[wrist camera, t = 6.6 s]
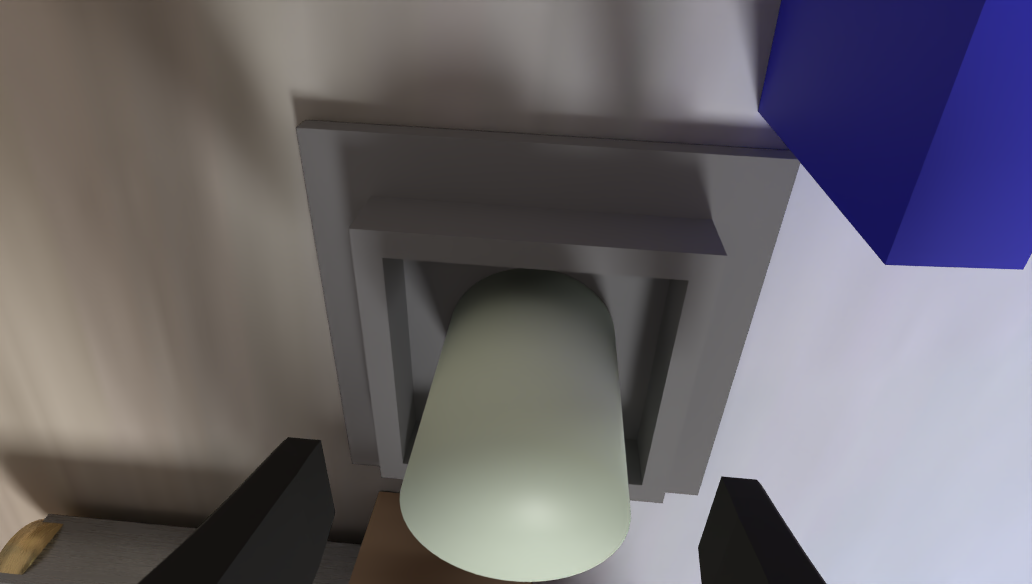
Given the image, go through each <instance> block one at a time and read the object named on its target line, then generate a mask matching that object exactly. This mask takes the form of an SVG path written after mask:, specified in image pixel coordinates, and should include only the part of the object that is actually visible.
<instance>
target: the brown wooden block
mask: <svg viewBox="0 0 1032 584" xmlns="http://www.w3.org/2000/svg"><path fill="white" fill-rule="evenodd" d="M349 584H532V582H517V581H507V580H500V579H494V578H489V577H485V576H481V575H477V574H474V573H471V572H468V571H465V570H463V569H461V568H458V567H456V566H454V565H452V564H450V563H448V562H446V561H444V560H442V559H441V558H439V557H438V556H436V555H435V554H433V553H432V552H430V551H429V550H428V549H427V548H426V547H424V546H423V545H422V544H421V543H420V542H419V541H418V540H417V539H416V538H415V537H414V535H413V534H412V532H411V531H410V530H409V528H408V526H407V524H406V522H405V521H404V518H403V515H402V512H401V508H400V493H392V492H381V491H379V493H378V496H377V499H376V502H375V505H374V508H373V511H372V514H371V517H370V520H369V523H368V526H367V529H366V532H365V535H364V538H363V542H362V545H361V548H360V551H359V554H358V557H357V560H356V563H355V566H354V569H353V572H352V575H351V578H350V581H349Z"/></svg>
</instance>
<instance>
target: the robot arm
mask: <svg viewBox="0 0 1032 584" xmlns="http://www.w3.org/2000/svg"><path fill="white" fill-rule="evenodd" d="M334 515H335V509H334V504H333V499H332V494H331V489H330V484H329V479H328V474H327V469H326V464H325V459H324V454H323V449H322V444H321V440H311V439H300V438H289V437H288V438H287V439H286V440H284V441H283V442H282V443H281V444H280V445H279V446H278V447H277V448H276V449H275V450H274V451H273V452H272V453H271V455H270V456H269V457H268V458H267V459H266V460H265V461H264V462H263V463H262V464H261V465H260V466H259V467H258V468H257V469H256V470H255V471H254V472H253V473H252V474H251V475H250V476H249V477H248V478H247V479H246V480H245V481H244V483H243V484H242V485H241V486H240V487H239V488H238V489H237V490H236V491H235V492H234V493H233V494H232V495H231V496H230V497H229V498H228V499H227V500H226V501H225V502H224V503H223V504H222V505H221V506H220V507H219V508H218V509H217V510H216V511H215V512H214V513H213V514H211V515H210V516H209V517H208V518H207V519H206V520H205V521H204V522H203V523H202V524H201V525H200V526H199V527H198V528H197V529H196V530H195V531H194V532H193V533H192V534H191V535H190V536H189V537H188V538H187V539H186V540H185V541H184V542H183V543H181V544H180V545H179V546H178V547H177V548H176V549H175V550H174V551H173V552H172V553H171V554H169V555H168V556H167V557H166V558H165V559H164V560H163V561H162V562H161V563H159V564H158V565H157V566H156V567H155V568H154V569H153V570H152V571H151V572H149V573H148V574H147V575H146V576H145V577H144V578H143V579H142V580H141V581H139V582H138V583H137V584H313V581H314V579H315V576H316V574H317V571H318V569H319V566H320V563H321V559H322V556H323V553H324V549H325V546H326V543H327V539H328V536H329V532H330V529H331V525H332V522H333V518H334ZM698 551H699V561H700V572H701V581H702V584H826V582H825V581H824V580H823V578H822V577H821V575H820V574H819V572H818V571H817V570H816V568H815V567H814V565H813V564H812V562H811V561H810V559H809V558H808V556H807V555H806V553H805V552H804V550H803V549H802V547H801V546H800V544H799V543H798V541H797V540H796V538H795V537H794V535H793V534H792V532H791V531H790V529H789V528H788V526H787V525H786V523H785V521H784V520H783V518H782V517H781V515H780V514H779V512H778V511H777V509H776V507H775V506H774V504H773V503H772V501H771V499H770V498H769V496H768V495H767V493H766V492H765V490H764V488H763V487H762V485H761V484H760V483H759V482H758V481H757V480H754V479H743V478H732V477H721V480H720V483H719V486H718V489H717V492H716V495H715V498H714V501H713V504H712V507H711V510H710V513H709V516H708V519H707V522H706V525H705V528H704V531H703V534H702V537H701V540H700V543H699V546H698Z"/></svg>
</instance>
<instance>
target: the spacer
mask: <svg viewBox="0 0 1032 584" xmlns="http://www.w3.org/2000/svg"><path fill="white" fill-rule="evenodd" d="M400 508H401V512H402V515H403V518H404V521H405V522H406V524H407V526H408V528H409V530H410V531H411V532H412V534H413V535H414V537H415V538H416V539H417V540H418V541H419V542H420V543H421V544H422V545H423V546H424V547H426V548H427V549H428V550H429V551H430V552H432V553H433V554H435V555H436V556H438V557H439V558H441V559H442V560H444V561H446V562H448V563H450V564H452V565H454V566H456V567H458V568H461V569H463V570H465V571H468V572H471V573H474V574H477V575H481V576H485V577H489V578H494V579H500V580H507V581H517V582H537V581H549V580H556V579H561V578H565V577H570V576H573V575H576V574H579V573H582V572H584V571H587V570H589V569H591V568H593V567H595V566H597V565H599V564H600V563H602V562H603V561H605V560H606V559H607V558H609V557H610V556H611V555H612V554H613V553H614V552H615V551H616V550H617V549H618V548H619V547H620V545H621V544H622V542H623V541H624V539H625V537H626V535H627V533H628V530H629V525H630V516H631V511H630V499H629V488H628V476H627V465H626V453H625V442H624V430H623V419H622V407H621V395H620V384H619V372H618V361H617V349H616V338H615V329H614V324H613V321H612V318H611V315H610V313H609V311H608V309H607V307H606V306H605V304H604V303H603V302H602V300H601V299H600V298H599V297H598V296H597V295H596V294H595V293H594V292H593V291H592V290H591V289H589V288H588V287H587V286H586V285H584V284H583V283H581V282H579V281H578V280H576V279H574V278H572V277H570V276H567V275H565V274H562V273H559V272H555V271H552V270H539V269H526V268H517V269H511V270H505V271H502V272H498V273H495V274H493V275H491V276H488V277H486V278H484V279H482V280H481V281H479V282H477V283H476V284H475V285H473V286H472V287H471V288H470V289H469V290H468V291H467V292H466V293H465V294H464V295H463V296H462V297H461V299H460V300H459V302H458V303H457V305H456V307H455V309H454V311H453V314H452V318H451V321H450V324H449V328H448V331H447V334H446V338H445V341H444V345H443V348H442V351H441V355H440V358H439V361H438V365H437V368H436V372H435V375H434V378H433V382H432V385H431V388H430V392H429V395H428V399H427V402H426V405H425V409H424V412H423V415H422V419H421V422H420V426H419V429H418V432H417V436H416V439H415V442H414V446H413V449H412V453H411V456H410V459H409V463H408V466H407V469H406V473H405V476H404V480H403V483H402V486H401V490H400Z"/></svg>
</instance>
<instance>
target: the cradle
mask: <svg viewBox="0 0 1032 584" xmlns="http://www.w3.org/2000/svg"><path fill="white" fill-rule="evenodd" d="M296 131H297V137H298V143H299V149H300V155H301V161H302V167H303V173H304V179H305V185H306V191H307V197H308V203H309V209H310V215H311V221H312V227H313V233H314V239H315V245H316V251H317V257H318V263H319V269H320V275H321V281H322V287H323V292H324V298H325V304H326V310H327V316H328V322H329V328H330V334H331V340H332V346H333V352H334V358H335V364H336V370H337V376H338V382H339V388H340V394H341V400H342V406H343V412H344V418H345V424H346V430H347V436H348V442H349V448H350V454H351V460H352V464H361V465H372V466H380V471H381V477H384V478H395V479H404V476H405V473H406V469H407V466H408V463H409V459H410V456H411V453H412V449H413V446H414V442H415V439H416V436H417V432H418V429H419V426H420V422H421V419H422V415H423V412H424V409H425V405H426V402H427V399H428V395H429V392H430V388H431V385H432V382H433V378H434V375H435V372H436V368H437V365H438V361H439V358H440V355H441V351H442V348H443V345H444V341H445V338H446V334H447V331H448V328H449V324H450V321H451V318H452V314H453V311H454V309H455V307H456V305H457V303H458V302H459V300H460V299H461V297H462V296H463V295H464V294H465V293H466V292H467V291H468V290H469V289H470V288H471V287H472V286H473V285H475V284H476V283H477V282H479V281H481V280H482V279H484V278H486V277H488V276H491V275H493V274H495V273H498V272H502V271H505V270H511V269H517V268H526V269H539V270H552V271H555V272H559V273H562V274H565V275H567V276H570V277H572V278H574V279H576V280H578V281H579V282H581V283H583V284H584V285H586V286H587V287H588V288H589V289H591V290H592V291H593V292H594V293H595V294H596V295H597V296H598V297H599V298H600V299H601V300H602V302H603V303H604V304H605V306H606V307H607V309H608V311H609V313H610V315H611V318H612V321H613V324H614V329H615V338H616V349H617V361H618V372H619V384H620V395H621V407H622V419H623V430H624V442H625V453H626V465H627V476H628V488H629V499H630V500H632V501H643V502H654V503H663V499H664V496H665V492H667V493H678V494H689V495H698V493H699V489H700V486H701V483H702V480H703V476H704V473H705V470H706V467H707V463H708V460H709V457H710V454H711V450H712V447H713V444H714V441H715V437H716V434H717V431H718V428H719V424H720V421H721V418H722V415H723V412H724V408H725V405H726V402H727V399H728V395H729V392H730V389H731V386H732V382H733V379H734V376H735V373H736V369H737V366H738V363H739V360H740V356H741V353H742V350H743V347H744V344H745V340H746V337H747V334H748V331H749V327H750V324H751V321H752V318H753V314H754V311H755V308H756V305H757V301H758V298H759V295H760V292H761V288H762V285H763V282H764V279H765V276H766V272H767V269H768V266H769V263H770V259H771V256H772V253H773V250H774V246H775V243H776V240H777V237H778V233H779V230H780V227H781V224H782V220H783V217H784V214H785V211H786V207H787V204H788V201H789V198H790V195H791V191H792V188H793V185H794V182H795V178H796V175H797V172H798V169H799V165H800V161H799V160H798V159H797V158H796V157H795V155H794V154H793V153H792V152H791V151H790V150H774V149H758V148H742V147H727V146H711V145H695V144H679V143H663V142H647V141H631V140H615V139H599V138H583V137H567V136H551V135H535V134H519V133H503V132H487V131H471V130H455V129H439V128H423V127H407V126H391V125H375V124H360V123H344V122H328V121H312V120H305V121H303V122H302V123H301V124H300V125H299V126H297V127H296Z"/></svg>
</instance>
